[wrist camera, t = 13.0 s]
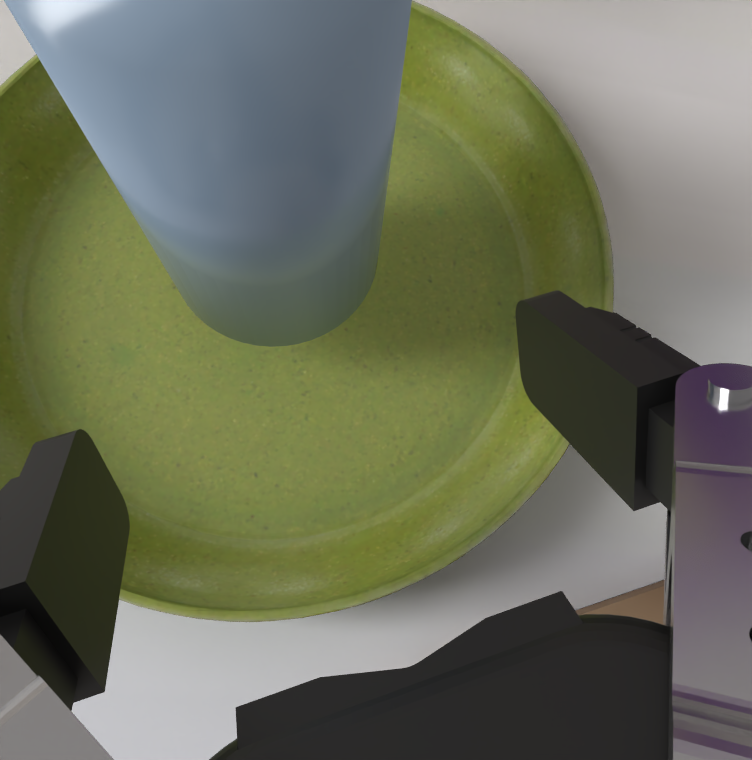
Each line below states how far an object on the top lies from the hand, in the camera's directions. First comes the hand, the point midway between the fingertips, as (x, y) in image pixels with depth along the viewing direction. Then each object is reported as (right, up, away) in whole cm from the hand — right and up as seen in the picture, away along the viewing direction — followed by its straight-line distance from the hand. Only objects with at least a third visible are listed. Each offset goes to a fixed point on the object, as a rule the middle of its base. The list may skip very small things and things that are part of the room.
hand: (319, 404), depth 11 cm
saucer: (-2, +3, +10) cm, 11 cm away
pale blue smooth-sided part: (-2, +4, +7) cm, 8 cm away
